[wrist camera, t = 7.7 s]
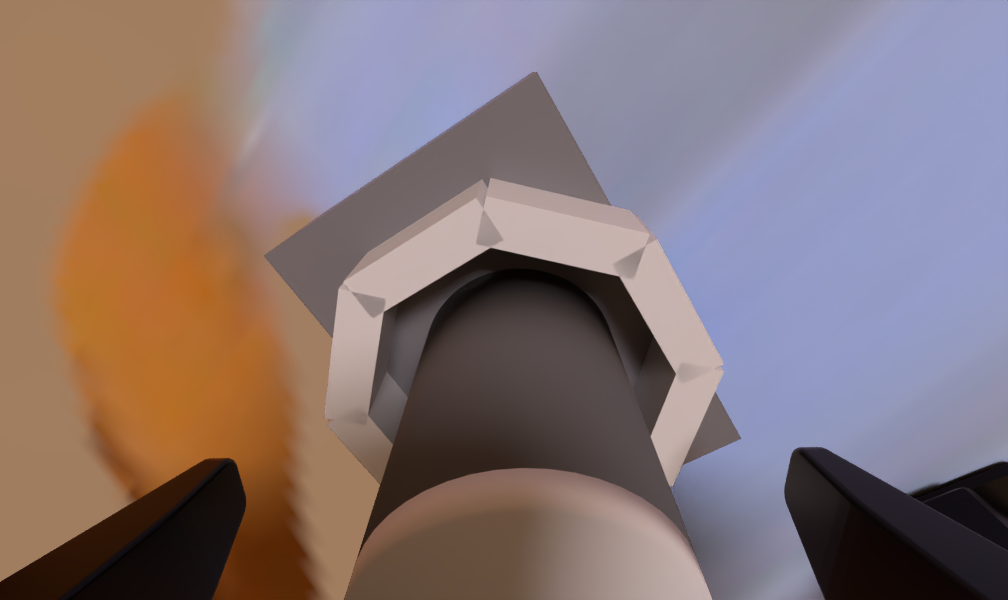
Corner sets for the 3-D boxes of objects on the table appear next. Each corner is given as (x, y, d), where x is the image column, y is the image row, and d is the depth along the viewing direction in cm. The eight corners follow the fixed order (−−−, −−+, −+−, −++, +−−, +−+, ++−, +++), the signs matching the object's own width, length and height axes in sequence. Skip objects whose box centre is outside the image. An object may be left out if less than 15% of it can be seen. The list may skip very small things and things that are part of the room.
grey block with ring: (713, 371, 16) (788, 483, 12) (497, 476, 18) (492, 608, 13) (544, 64, 13) (559, 59, 9) (301, 227, 15) (209, 294, 10)
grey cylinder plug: (617, 265, 12) (746, 505, 5) (609, 431, 13) (698, 763, 7) (417, 271, 12) (304, 512, 5) (434, 434, 14) (365, 763, 7)
